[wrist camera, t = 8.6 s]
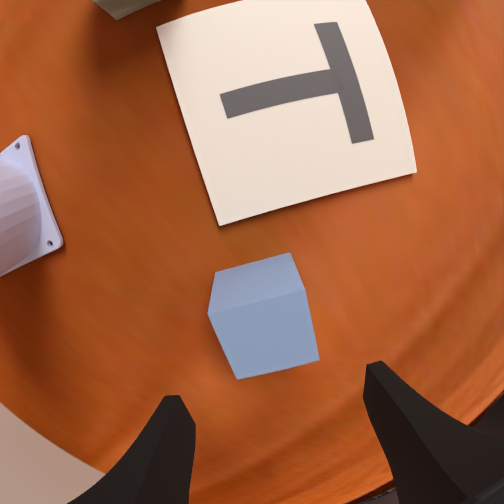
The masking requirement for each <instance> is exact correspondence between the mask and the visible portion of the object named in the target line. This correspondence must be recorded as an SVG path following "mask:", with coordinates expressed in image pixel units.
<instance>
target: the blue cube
mask: <svg viewBox="0 0 504 504" xmlns="http://www.w3.org/2000/svg"><path fill="white" fill-rule="evenodd" d="M208 316H209V319H210V321H211V323H212V326H213V328H214V330H215V333H216V335H217V337H218V339H219V342H220V344H221V346H222V348H223V351H224V353H225V355H226V357H227V359H228V361H229V364H230V366H231V368H232V370H233V372H234V374H235V376H236V379H242V378H248V377H252V376H257V375H262V374H266V373H271V372H275V371H279V370H284V369H288V368H292V367H296V366H300V365H303V364H307V363H311V362H314V361H318V360H319V355H318V350H317V345H316V340H315V335H314V330H313V325H312V320H311V315H310V310H309V306H308V301H307V296H306V292H305V288H304V286H303V283H302V281H301V278H300V276H299V273H298V271H297V268H296V266H295V263H294V261H293V258H292V256H291V254H290V252H289V253H286V254H282V255H278V256H275V257H271V258H267V259H264V260H260V261H256V262H252V263H249V264H245V265H241V266H238V267H234V268H230V269H226V270H223V271H219V272H215V277H214V282H213V287H212V292H211V298H210V303H209V308H208Z"/></svg>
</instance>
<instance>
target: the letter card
mask: <svg viewBox="0 0 504 504" xmlns="http://www.w3.org/2000/svg"><path fill="white" fill-rule="evenodd" d="M156 29H157V32H158V36H159V39H160V43H161V46H162V49H163V53H164V56H165V59H166V63H167V66H168V69H169V73H170V76H171V79H172V82H173V86H174V89H175V92H176V95H177V98H178V102H179V105H180V108H181V111H182V114H183V118H184V121H185V124H186V127H187V130H188V133H189V136H190V139H191V142H192V146H193V149H194V152H195V155H196V158H197V161H198V164H199V167H200V170H201V173H202V176H203V179H204V182H205V185H206V188H207V191H208V194H209V197H210V200H211V203H212V206H213V209H214V212H215V215H216V217H217V220H218V223H219V226H221V225H224V224H228V223H231V222H234V221H238V220H241V219H244V218H248V217H251V216H254V215H258V214H261V213H265V212H268V211H272V210H275V209H278V208H282V207H286V206H289V205H293V204H296V203H300V202H303V201H307V200H311V199H314V198H318V197H322V196H325V195H329V194H333V193H336V192H340V191H344V190H348V189H352V188H356V187H359V186H363V185H367V184H371V183H375V182H379V181H383V180H387V179H391V178H395V177H399V176H403V175H408V174H412V173H416V172H417V169H416V163H415V157H414V152H413V146H412V141H411V136H410V132H409V127H408V123H407V118H406V114H405V110H404V106H403V102H402V99H401V95H400V91H399V88H398V85H397V81H396V78H395V75H394V71H393V68H392V65H391V62H390V59H389V57H388V54H387V51H386V48H385V45H384V43H383V40H382V37H381V35H380V32H379V30H378V27H377V25H376V23H375V20H374V18H373V16H372V13H371V11H370V9H369V7H368V5H367V2H366V0H243V1H239V2H234V3H230V4H226V5H222V6H218V7H214V8H211V9H207V10H204V11H201V12H197V13H194V14H191V15H188V16H185V17H182V18H179V19H176V20H174V21H171V22H168V23H166V24H163V25H160V26H158V27H156Z"/></svg>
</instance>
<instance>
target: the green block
mask: <svg viewBox="0 0 504 504" xmlns="http://www.w3.org/2000/svg"><path fill="white" fill-rule="evenodd" d="M93 1H94V2H95V3H96V4H97V5H99V6H100V7H101V8H102V9H104V10H105V11H106V12H107V13H108V14H109V15H111V16H112V17H113V18H114V19H115V20H119V19H121V18H123V17H125V16H127V15H129V14H131V13H133V12H135V11H138V10H140V9H142V8H144V7H147V6H149V5H151V4H154V3H156V2H159V1H161V0H93Z"/></svg>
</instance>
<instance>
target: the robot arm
mask: <svg viewBox="0 0 504 504" xmlns="http://www.w3.org/2000/svg"><path fill="white" fill-rule="evenodd" d="M19 144H20V148H19ZM50 241H52V243H53V245H51V243H50ZM62 245H63V238H62V235H61V233H60V230H59V228H58V225H57V223H56V220H55V218H54V215H53V212H52V210H51V207H50V204H49V202H48V199H47V196H46V193H45V190H44V187H43V184H42V181H41V177H40V174H39V171H38V168H37V164H36V161H35V157H34V153H33V149H32V146H31V142H30V138H29V136H28V135H22V136H21V137H19V138H18V139H17V140H16V141H14V142H13V143H12V144H11V145H10V146H8V147H7V148H6V149H5V150H4V151H3V152H1V153H0V277H1V276H2V275H4V274H6V273H8V272H10V271H12V270H14V269H16V268H18V267H20V266H22V265H24V264H26V263H29V262H31V261H33V260H35V259H37V258H39V257H41V256H43V255H45V254H48V253H50V252H52V251H54V250H56V249H58V248H60V247H61V246H62ZM363 399H364V403H365V406H366V409H367V413H368V416H369V419H370V421H371V423H372V426H373V428H374V430H375V433H376V435H377V437H378V439H379V442H380V444H381V446H382V448H383V451H384V453H385V455H386V458H387V460H388V463H389V465H390V468H391V472H392V475H393V479H394V482H395V486H396V490H397V495H398V499H399V504H504V440H503V439H500V438H497V437H494V436H491V435H487V434H485V433H483V432H481V431H478V430H476V429H474V428H472V427H469V426H467V425H465V424H463V423H462V422H460V421H458V420H456V419H454V418H453V417H451V416H449V415H448V414H446V413H444V412H443V411H441V410H440V409H438V408H437V407H436V406H434V405H433V404H432V403H430V402H429V401H427V400H426V399H425V398H424V397H422V396H421V395H420V394H419V393H417V392H416V391H415V390H414V389H413V388H411V387H410V386H409V385H408V384H407V383H406V382H404V381H403V380H402V379H401V378H400V377H399V376H398V375H397V374H396V373H395V372H393V371H392V370H391V369H390V368H389V367H388V366H387V365H386V364H385V363H384V362H383V361H377V362H374V363H371V364H367V365H366V375H365V384H364V393H363ZM195 438H196V424H195V422H194V421H193V419H192V417H191V415H190V414H189V412H188V410H187V408H186V406H185V405H184V403H183V401H182V399H181V397H180V395H171V396H165V397H164V398H163V399H162V401H161V402H160V404H159V406H158V407H157V409H156V410H155V412H154V413H153V415H152V417H151V418H150V420H149V421H148V423H147V424H146V426H145V427H144V429H143V430H142V432H141V433H140V434H139V436H138V437H137V439H136V440H135V441H134V443H133V444H132V445H131V447H130V448H129V449H128V450H127V452H126V453H125V454H124V456H123V457H122V458H121V459H120V460H119V461H118V462H117V464H116V465H115V466H114V467H113V468H112V469H111V470H110V471H109V472H108V473H107V474H106V475H105V476H104V477H103V478H101V479H100V480H99V481H98V482H97V483H96V484H95V485H93V486H92V487H91V488H90V489H88V490H87V491H86V492H84V493H83V494H81V495H80V496H79V497H77V498H76V499H74V500H72V501H71V502H69V503H67V504H189V488H190V481H191V474H192V467H193V460H194V452H195Z"/></svg>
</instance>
